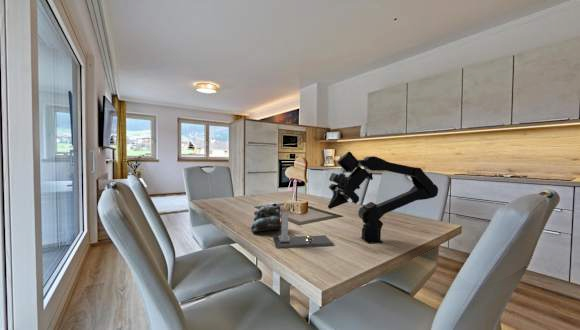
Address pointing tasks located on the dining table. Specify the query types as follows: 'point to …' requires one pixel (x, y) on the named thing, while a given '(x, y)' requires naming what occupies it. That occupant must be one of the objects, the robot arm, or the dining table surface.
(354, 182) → the robot arm
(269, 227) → the dark grey lumpy block
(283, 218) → the post
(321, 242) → the bolt plate
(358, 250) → the dining table surface
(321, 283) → the dining table surface
